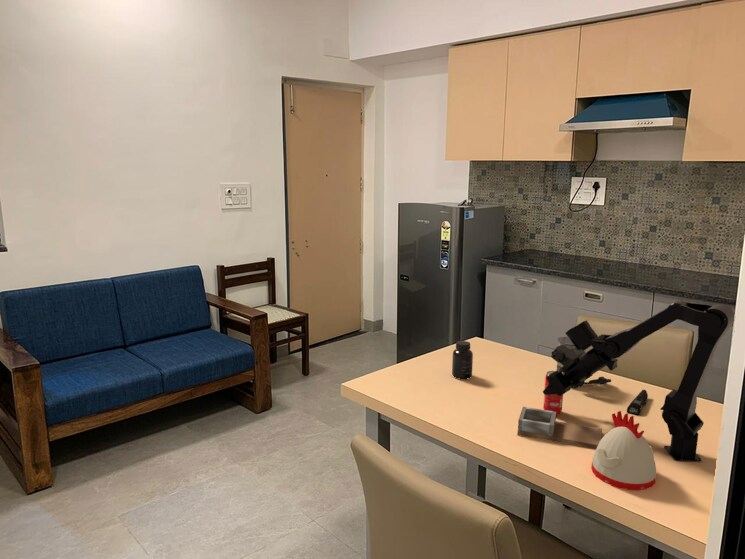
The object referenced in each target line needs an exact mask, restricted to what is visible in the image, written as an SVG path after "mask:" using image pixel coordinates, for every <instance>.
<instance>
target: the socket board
mask: <svg viewBox="0 0 745 559" xmlns="http://www.w3.org/2000/svg"><path fill="white" fill-rule="evenodd" d="M556 418H557V416H556V412H554V411H548V410H544V409H541V408H535V407H534V408H533V407H530V406H529V407H528V406H523V407H522V409H521V411H520V414H519V418H518V420H517V421H518V424H517V436H520V435H521V437H527V438H533V439H538V440H544V441H549V442H554V443H561V444H565V445H571V446H572V445H573V446H578V447H584V448H589V449H595V450H596V448H597V446H598V444H599V442H600V441H601V439H602V438H603V436H602V435H603V428H600V427H594V426H587V425H581V424H577V423H576V424H575V423H570V422H565V421H557V420H556Z"/></svg>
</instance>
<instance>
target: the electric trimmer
mask: <svg viewBox="0 0 745 559" xmlns="http://www.w3.org/2000/svg"><path fill="white" fill-rule="evenodd" d="M648 396H649V395H648V391H647V390H646V389H642V390H641V391H640V392H639V393H638V394H637V396H636V397H635V398H633V399H632V401H631V402H630V403H629V404H628V406H627V409H626V414H627V413H628V415H632V416H637V417H638V416H640V415H641V414H642V408H643V406H646V405H647V402H648Z"/></svg>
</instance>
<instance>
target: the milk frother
mask: <svg viewBox="0 0 745 559" xmlns="http://www.w3.org/2000/svg"><path fill="white" fill-rule="evenodd" d="M557 341H558V343H557V347H558V346H560V345H564V346H566V347H567V348H569V349H570V350H571V351H573V352H574V353H575V354H576V355H577V356H578V357H579V356H580V355H583V354H585V353H586V352H587V351H586V350H587V349H586V350H585V351H583V350H582V349H581V350H580V351H579V350H577V348H576V347H575V346H574V344H573V343H572V342H571V340H570V339H569V338H568V336H560V337H558V338H557ZM563 366H564V365H562V364H561V363H558V362H557V361H556V371H560V372H561V373H563V374H564V372H565V371H564V370H563V369H562V367H563ZM597 378H598V379H597ZM597 378H596V379H591V380H589V381H588V382H587V381H586V380H585V381H583V382H581V383H580V384H577V385H571V388H572V389H573V388H575V389H576V388H581V387H584V385H597V384H599V385H600V386H602V385H606V384H608V383H612V379H611V378H605V377H604V376H598V377H597ZM571 388H570V389H571Z"/></svg>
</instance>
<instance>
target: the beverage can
mask: <svg viewBox="0 0 745 559" xmlns="http://www.w3.org/2000/svg"><path fill="white" fill-rule="evenodd" d="M555 371H556V370H549V371H546V374H545V380H544V389H545V388H546V387H547V386H548V385H549V382H548V381H547V379H546V377H547V376H548V375H550V374H551V373H553V372H555ZM562 374H563V373H562ZM563 375H564V374H563ZM563 400H564V394H563V395H561V396H559V395H557V394H550V395H544V394H543V410H548V411H554V412H556V417H557V416H559V415H561V413H562V411H563Z"/></svg>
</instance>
